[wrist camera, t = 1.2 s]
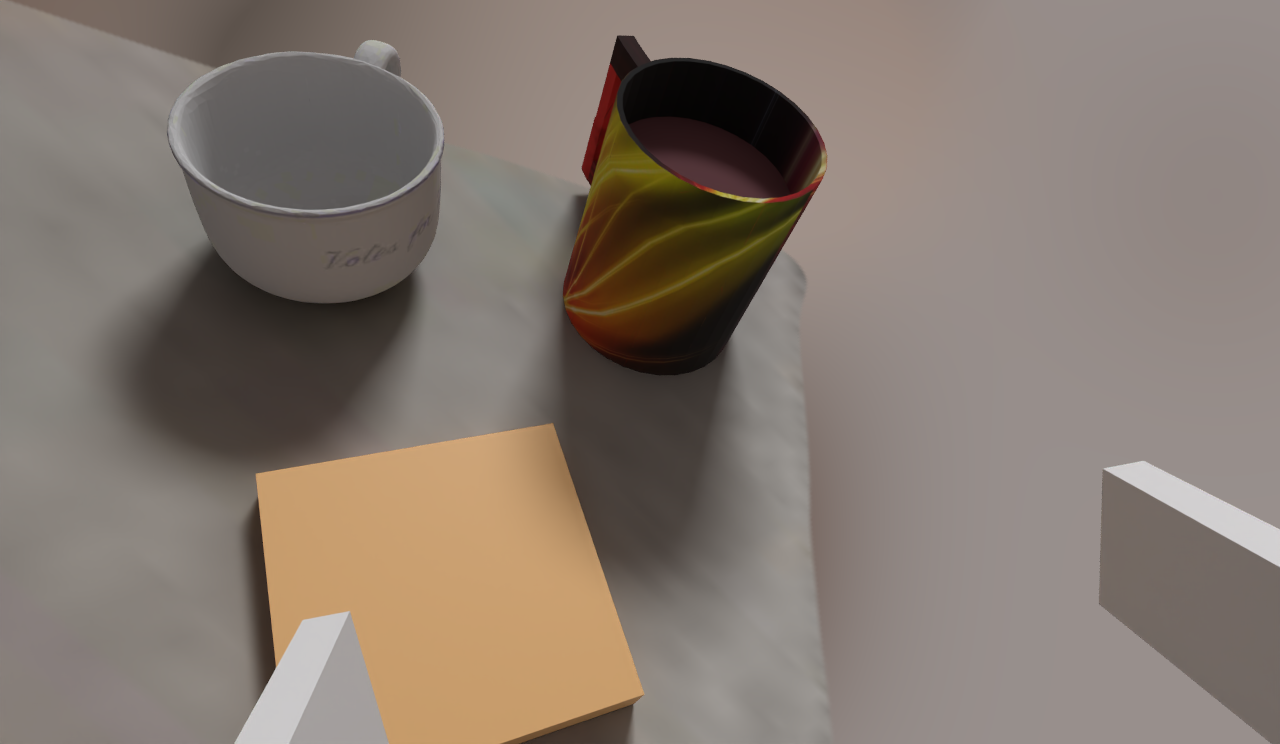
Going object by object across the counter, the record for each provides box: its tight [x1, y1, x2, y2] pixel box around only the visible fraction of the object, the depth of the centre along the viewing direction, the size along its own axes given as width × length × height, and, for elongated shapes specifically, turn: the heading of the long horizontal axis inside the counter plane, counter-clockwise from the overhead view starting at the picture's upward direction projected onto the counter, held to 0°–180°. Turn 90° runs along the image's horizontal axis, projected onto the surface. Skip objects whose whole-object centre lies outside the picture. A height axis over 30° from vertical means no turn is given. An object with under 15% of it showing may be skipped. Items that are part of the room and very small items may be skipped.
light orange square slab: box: [256, 423, 644, 744], centre depth 29 cm, size 12×12×2 cm
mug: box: [563, 36, 827, 375], centre depth 38 cm, size 10×14×12 cm
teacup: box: [167, 40, 444, 303], centre depth 36 cm, size 14×11×8 cm
